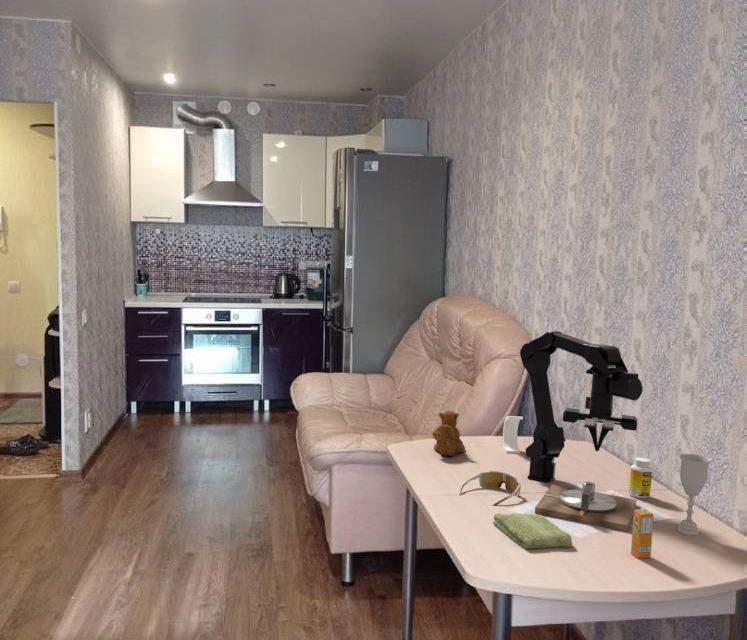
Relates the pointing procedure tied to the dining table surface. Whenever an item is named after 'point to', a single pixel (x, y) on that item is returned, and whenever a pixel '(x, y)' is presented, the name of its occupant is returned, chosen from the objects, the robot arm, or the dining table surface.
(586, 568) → the dining table surface
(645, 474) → the supplement bottle
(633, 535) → the supplement box
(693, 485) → the chalice
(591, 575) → the dining table surface
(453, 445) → the brown teddy bear
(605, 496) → the dial
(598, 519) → the dial base
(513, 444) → the headphone stand
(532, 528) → the washcloth
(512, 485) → the sunglasses
